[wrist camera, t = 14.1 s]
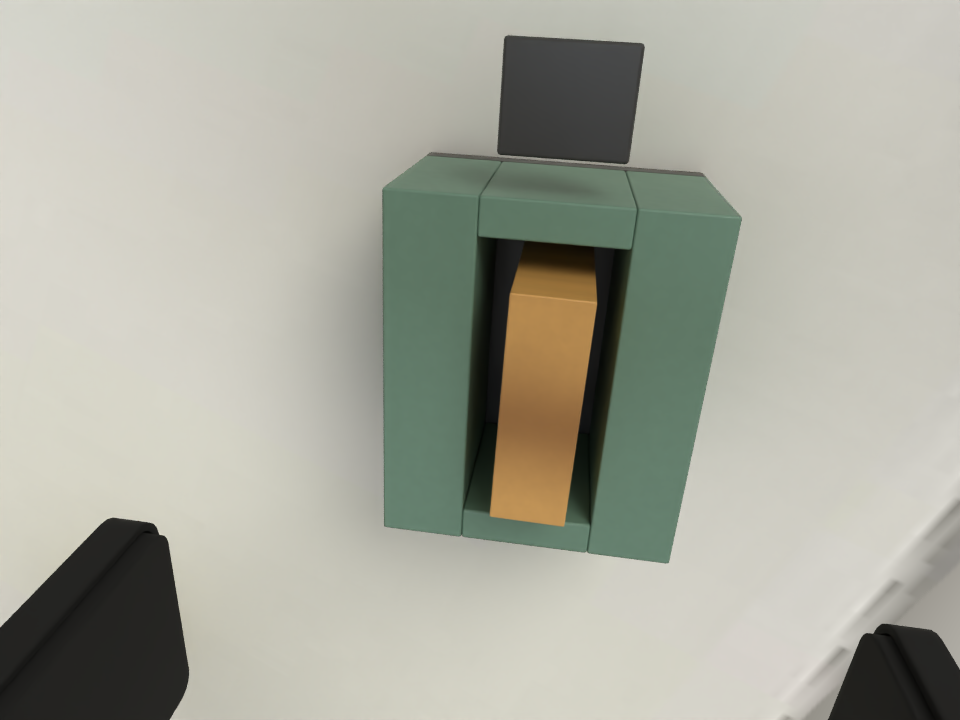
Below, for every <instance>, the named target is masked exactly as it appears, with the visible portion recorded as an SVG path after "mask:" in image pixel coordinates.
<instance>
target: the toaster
mask: <svg viewBox="0 0 960 720" xmlns="http://www.w3.org/2000/svg"><path fill="white" fill-rule="evenodd" d="M382 209H383V402H384V526H385V527H391V528H398V529H406V530H414V531H421V532H429V533H437V534H445V535H452V536H461V535H462V536H463V537H469V538H476V539H484V540H492V541H500V542H507V543H515V544H523V545H530V546H538V547H546V548H553V549H561V550H569V551H577V552H586V551H587V552H588V553H590V554H598V555H606V556H613V557H621V558H629V559H636V560H644V561H652V562H660V563H669V560H670V555H671V550H672V545H673V541H674V536H675V531H676V527H677V522H678V517H679V513H680V508H681V503H682V498H683V494H684V489H685V484H686V480H687V475H688V470H689V465H690V461H691V456H692V451H693V447H694V442H695V437H696V432H697V428H698V423H699V418H700V414H701V409H702V404H703V400H704V395H705V390H706V385H707V381H708V376H709V371H710V367H711V362H712V357H713V352H714V348H715V343H716V338H717V334H718V329H719V324H720V319H721V315H722V310H723V305H724V301H725V296H726V291H727V286H728V282H729V277H730V272H731V268H732V263H733V258H734V254H735V249H736V244H737V239H738V235H739V230H740V225H741V221H742V218H741V216H740V215H739V214H738V213H737V212H736V210H735V209H734V208H733V207H732V206H731V205H730V204H729V203H728V202H727V200H726V199H725V198H724V197H723V196H722V195H721V194H720V193H719V191H718V190H717V189H716V188H715V187H714V186H713V185H712V184H711V183H710V181H709V180H708V179H707V178H706V177H705V176H704V175H703V173H696V172H683V171H670V170H657V169H644V168H631V167H617V166H604V165H591V164H578V163H565V162H552V161H539V160H525V159H512V158H499V157H486V156H473V155H460V154H446V153H433V152H431V153H429V154H428V155H427V156H426V157H424V158H423V159H421V160H420V161H419V162H417V163H416V164H415V165H413V166H412V167H411V168H409V169H408V170H407V171H405V172H404V173H403V174H401V175H400V176H398V177H397V178H396V179H394V180H393V181H392V182H390V183H389V184H388V185H386V186H385V187H384V188H383V190H382ZM525 241H533V242H545V243H556V244H568V245H579V246H590V247H594V254H595V272H596V290H597V309H596V315H595V322H594V329H593V336H592V343H591V349H590V356H589V363H588V370H587V376H586V383H585V390H584V397H583V404H582V410H581V417H580V424H579V431H578V437H577V444H576V451H575V458H574V465H573V471H572V478H571V485H570V492H569V498H568V505H567V512H566V519H565V525H564V527H561V526H554V525H547V524H540V523H533V522H525V521H518V520H511V519H504V518H497V517H491V516H490V505H491V494H492V483H493V472H494V461H495V450H496V439H497V428H498V417H499V406H500V395H501V384H502V373H503V362H504V351H505V340H506V329H507V318H508V307H509V296H510V291H511V288H512V284H513V281H514V277H515V274H516V270H517V267H518V263H519V260H520V257H521V253H522V250H523V246H524V243H525Z"/></svg>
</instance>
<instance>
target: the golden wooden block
mask: <svg viewBox="0 0 960 720" xmlns="http://www.w3.org/2000/svg"><path fill="white" fill-rule="evenodd" d="M596 309H597V290H596V272H595V254H594V247H590V246H579V245H568V244H556V243H545V242H533V241H525V243H524V246H523V250H522V253H521V257H520V260H519V263H518V267H517V270H516V274H515V277H514V281H513V284H512V288H511V291H510V296H509V307H508V318H507V329H506V340H505V351H504V362H503V373H502V384H501V395H500V406H499V417H498V428H497V439H496V450H495V461H494V472H493V483H492V494H491V505H490V516H491V517H497V518H504V519H511V520H518V521H525V522H533V523H540V524H547V525H554V526H561V527H564V525H565V519H566V512H567V505H568V498H569V492H570V485H571V478H572V471H573V465H574V458H575V451H576V444H577V437H578V431H579V424H580V417H581V410H582V404H583V397H584V390H585V383H586V376H587V370H588V363H589V356H590V349H591V343H592V336H593V329H594V322H595V315H596Z"/></svg>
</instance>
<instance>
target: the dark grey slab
mask: <svg viewBox="0 0 960 720" xmlns="http://www.w3.org/2000/svg"><path fill="white" fill-rule="evenodd" d="M644 49H645V47H644V44H642V43H629V42H612V41H595V40H578V39H561V38H544V37H527V36H510V35H508V36H505V38H504V49H503V66H502V82H501V98H500V114H499V130H498V147H497V152H498V154H500V155H511V156H524V157H537V158H550V159H564V160H577V161H590V162H603V163H616V164H627V163H628V162H629V157H630V150H631V143H632V135H633V128H634V121H635V114H636V107H637V99H638V92H639V85H640V78H641V71H642V63H643V56H644Z"/></svg>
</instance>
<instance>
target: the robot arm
mask: <svg viewBox="0 0 960 720" xmlns="http://www.w3.org/2000/svg"><path fill="white" fill-rule="evenodd" d="M188 679H189V667H188V661H187V655H186V649H185V643H184V637H183V630H182V624H181V618H180V612H179V606H178V600H177V594H176V587H175V581H174V575H173V569H172V563H171V557H170V551H169V544H168V541H167V538H166V537H165V536H162V535H159V533H158V530H157V527H156V526H155V525H154V524H152V523H148V522H141V521H133V520H126V519H119V518H110V519H107V520H106V521H104V522H103V523H102V524H101V525H100V526H99V527H98V528H97V529H96V530H95V531H94V532H93V533H92V534H91V535H90V536H89V537H88V538H87V539H86V540H85V541H84V542H83V543H82V544H81V545H80V546H79V547H78V548H77V549H76V550H75V551H74V552H73V553H72V554H71V556H70V557H69V558H68V559H67V560H66V561H65V562H64V563H63V564H62V565H61V566H60V567H59V568H58V569H57V570H56V571H55V572H54V573H53V574H52V575H51V576H50V577H49V578H48V579H47V580H46V581H45V582H44V583H43V584H42V585H41V586H40V587H39V588H38V589H37V590H36V591H35V592H34V594H33V595H32V596H31V597H30V598H29V599H28V600H27V601H26V602H25V603H24V604H23V605H22V606H21V607H20V608H19V609H18V610H17V611H16V612H15V613H14V614H13V615H12V616H11V617H10V618H9V619H8V620H7V621H6V622H5V623H4V624H3V625H2V626H1V627H0V720H170V718H171V716H172V715H173V713H174V711H175V710H176V708H177V706H178V705H179V703H180V701H181V700H182V698H183V696H184V693H185V691H186V688H187V684H188ZM828 720H960V669H959V667H958V666H957V664H956V662H955V661H954V659H953V658H952V656H951V654H950V652H949V651H948V649H947V647H946V646H945V644H944V642H943V641H942V639H941V638H940V637H939V636H938V635H937V633H935V632H933V631H932V630H927V629H920V628H913V627H905V626H898V625H891V624H881V625H880V626H878V627H877V629H876V630H875V632H874V634H870V633H866V634H864V635H863V636H862V638H861V639H860V642H859V644H858V647H857V649H856V652H855V654H854V657H853V659H852V661H851V664H850V666H849V669H848V671H847V674H846V676H845V679H844V681H843V684H842V686H841V689H840V691H839V694H838V696H837V699H836V701H835V704H834V707H833V709H832V712H831V714H830V716H829V719H828Z"/></svg>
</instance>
